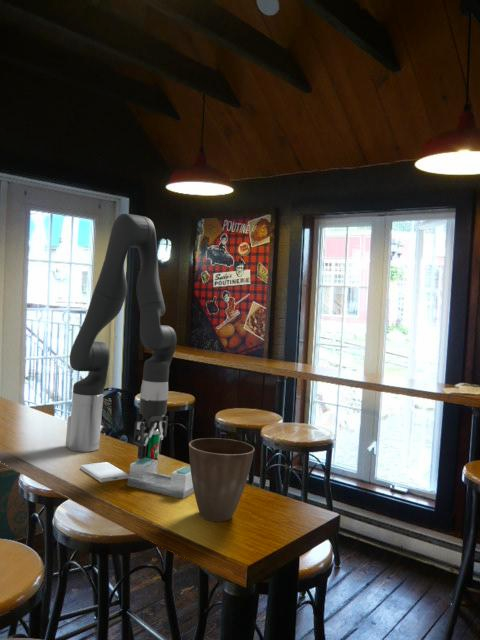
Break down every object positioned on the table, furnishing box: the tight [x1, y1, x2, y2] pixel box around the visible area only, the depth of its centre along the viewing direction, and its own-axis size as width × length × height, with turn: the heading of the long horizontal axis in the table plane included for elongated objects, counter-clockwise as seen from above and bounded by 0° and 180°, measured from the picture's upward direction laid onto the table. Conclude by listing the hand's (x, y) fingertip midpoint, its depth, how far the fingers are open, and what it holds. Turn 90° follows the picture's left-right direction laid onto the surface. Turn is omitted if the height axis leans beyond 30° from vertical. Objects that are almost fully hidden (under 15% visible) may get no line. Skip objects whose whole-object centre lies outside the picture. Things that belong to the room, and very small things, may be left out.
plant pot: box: [188, 437, 255, 522], centre depth 124 cm, size 15×15×16 cm
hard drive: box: [80, 461, 129, 483], centre depth 147 cm, size 2×8×12 cm
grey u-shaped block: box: [127, 458, 194, 500], centre depth 140 cm, size 16×8×6 cm, turn 68°
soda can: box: [138, 429, 160, 461], centre depth 152 cm, size 5×5×12 cm
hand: (149, 455), depth 152 cm, fingers open, 7 cm apart
